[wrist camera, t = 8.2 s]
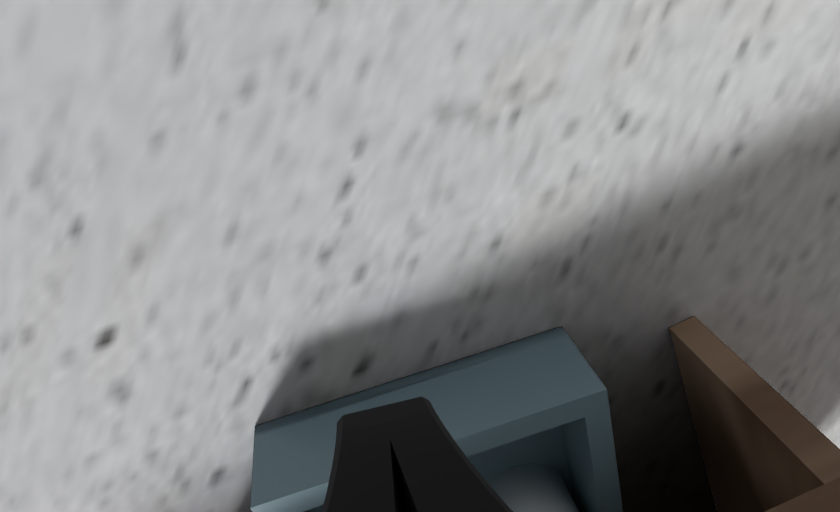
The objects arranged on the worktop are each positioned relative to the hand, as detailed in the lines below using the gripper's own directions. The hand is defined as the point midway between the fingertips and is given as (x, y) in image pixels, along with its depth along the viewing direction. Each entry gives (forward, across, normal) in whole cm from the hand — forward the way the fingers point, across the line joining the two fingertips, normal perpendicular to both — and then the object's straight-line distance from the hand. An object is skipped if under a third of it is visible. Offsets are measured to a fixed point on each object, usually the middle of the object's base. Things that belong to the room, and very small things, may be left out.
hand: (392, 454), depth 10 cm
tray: (+10, -2, +12) cm, 16 cm away
